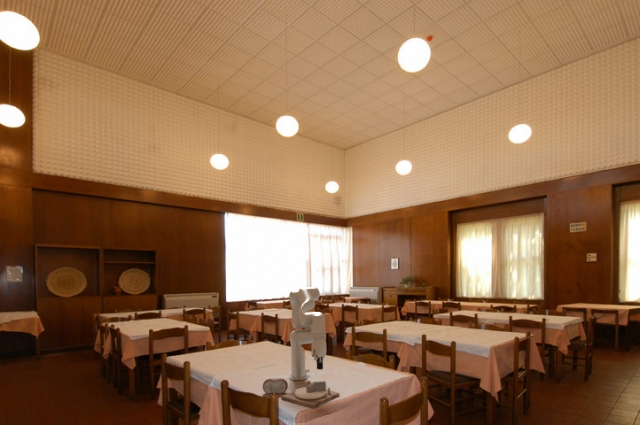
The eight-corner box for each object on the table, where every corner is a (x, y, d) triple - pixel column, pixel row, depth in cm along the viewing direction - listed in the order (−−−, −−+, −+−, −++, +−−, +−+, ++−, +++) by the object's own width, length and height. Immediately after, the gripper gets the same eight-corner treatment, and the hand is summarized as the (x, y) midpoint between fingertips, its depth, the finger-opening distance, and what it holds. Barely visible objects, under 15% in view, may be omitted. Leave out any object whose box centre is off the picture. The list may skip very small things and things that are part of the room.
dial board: (308, 388, 238) (308, 378, 239) (339, 395, 223) (339, 385, 224) (281, 399, 219) (281, 388, 220) (313, 408, 204) (312, 396, 205)
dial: (295, 400, 211) (295, 388, 212) (294, 390, 229) (294, 378, 230) (327, 398, 213) (327, 386, 214) (323, 388, 231) (323, 377, 232)
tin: (287, 392, 231) (287, 377, 232) (287, 394, 228) (287, 379, 229) (263, 393, 231) (263, 378, 232) (262, 394, 227) (262, 380, 229)
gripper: (320, 333, 229) (321, 365, 226) (306, 337, 216) (307, 371, 213) (331, 334, 225) (332, 366, 222) (317, 338, 212) (318, 373, 209)
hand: (319, 369), depth 218 cm, fingers closed
